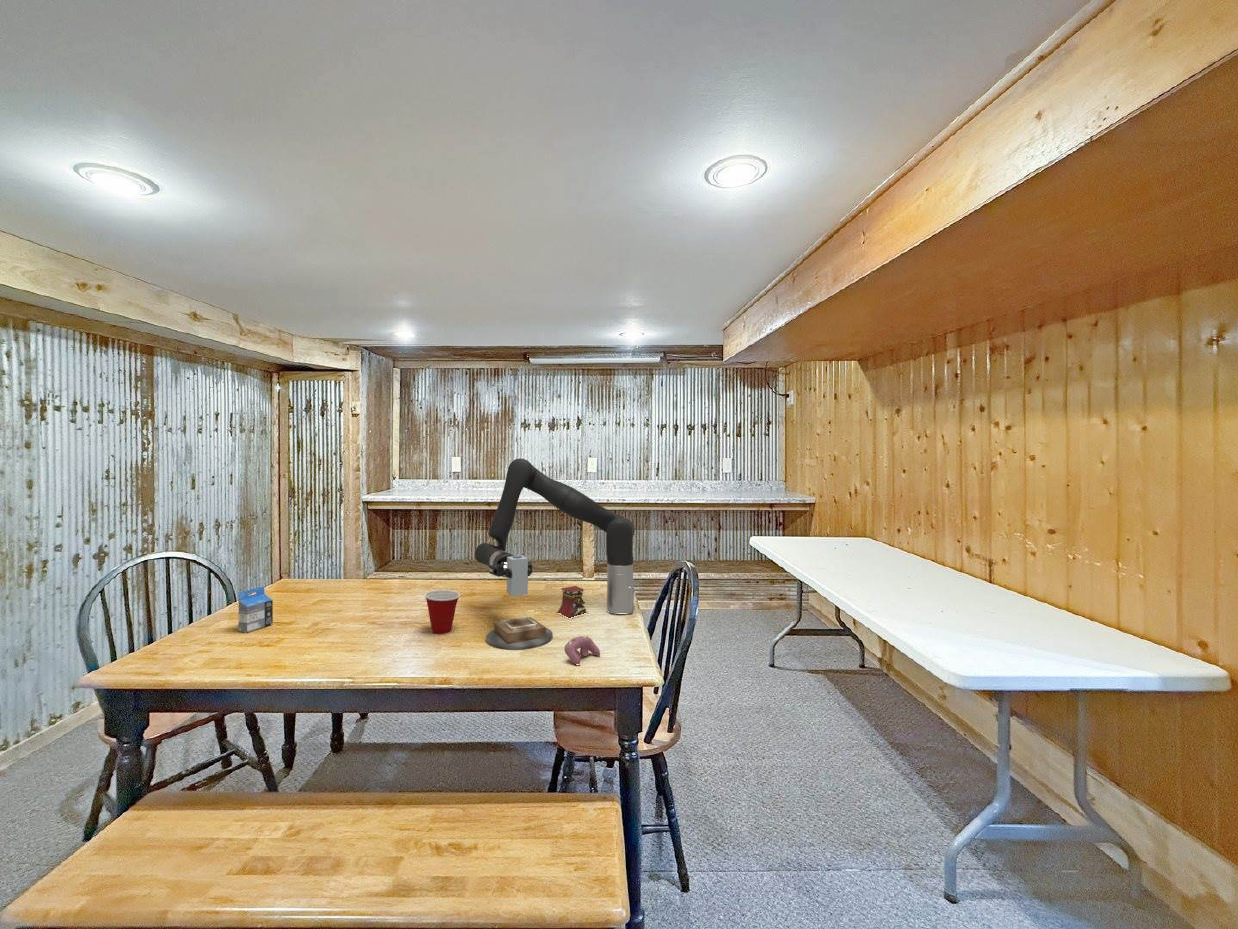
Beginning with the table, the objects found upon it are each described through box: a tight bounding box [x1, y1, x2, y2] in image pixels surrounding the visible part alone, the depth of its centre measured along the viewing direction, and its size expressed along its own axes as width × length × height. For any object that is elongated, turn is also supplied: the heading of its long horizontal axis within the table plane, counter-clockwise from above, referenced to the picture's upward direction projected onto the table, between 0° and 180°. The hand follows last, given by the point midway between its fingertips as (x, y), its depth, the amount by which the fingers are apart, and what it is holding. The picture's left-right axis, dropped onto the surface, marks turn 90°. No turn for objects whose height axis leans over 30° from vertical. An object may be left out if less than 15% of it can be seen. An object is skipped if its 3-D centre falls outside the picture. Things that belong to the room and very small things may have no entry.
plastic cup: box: [424, 589, 461, 635], centre depth 175 cm, size 11×11×12 cm
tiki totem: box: [556, 585, 588, 618], centre depth 194 cm, size 9×9×9 cm
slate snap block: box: [506, 553, 529, 597], centre depth 170 cm, size 5×5×12 cm
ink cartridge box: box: [238, 586, 274, 633], centre depth 176 cm, size 9×4×12 cm, turn 161°
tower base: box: [485, 616, 554, 651], centre depth 169 cm, size 20×20×5 cm
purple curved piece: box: [563, 635, 601, 665], centre depth 153 cm, size 10×5×7 cm, turn 142°
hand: (520, 573), depth 167 cm, fingers closed on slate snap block, 5 cm apart
